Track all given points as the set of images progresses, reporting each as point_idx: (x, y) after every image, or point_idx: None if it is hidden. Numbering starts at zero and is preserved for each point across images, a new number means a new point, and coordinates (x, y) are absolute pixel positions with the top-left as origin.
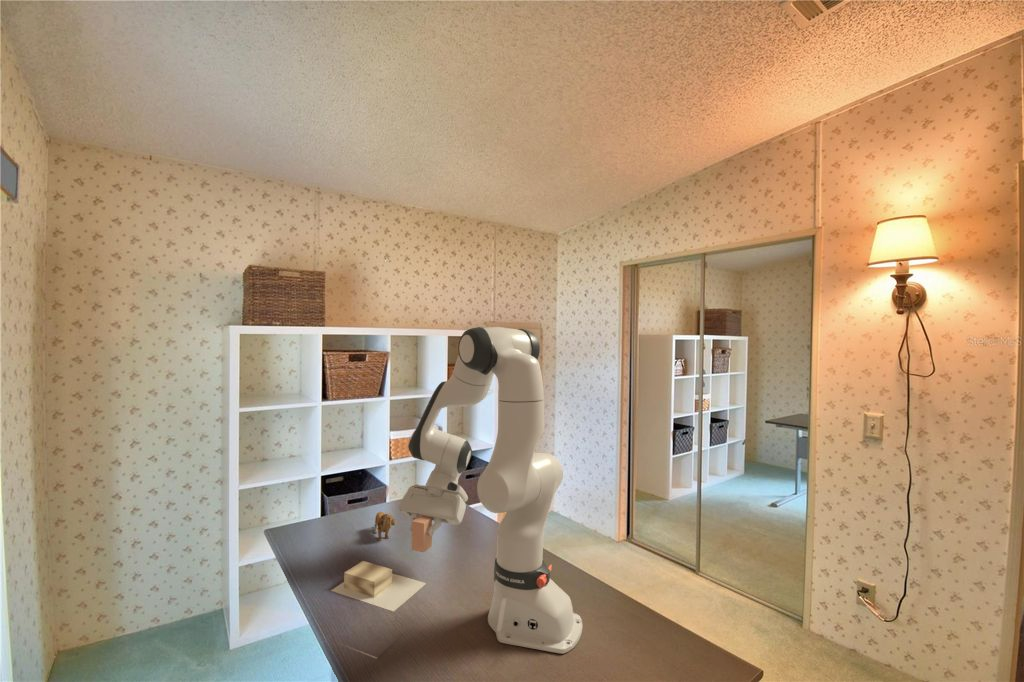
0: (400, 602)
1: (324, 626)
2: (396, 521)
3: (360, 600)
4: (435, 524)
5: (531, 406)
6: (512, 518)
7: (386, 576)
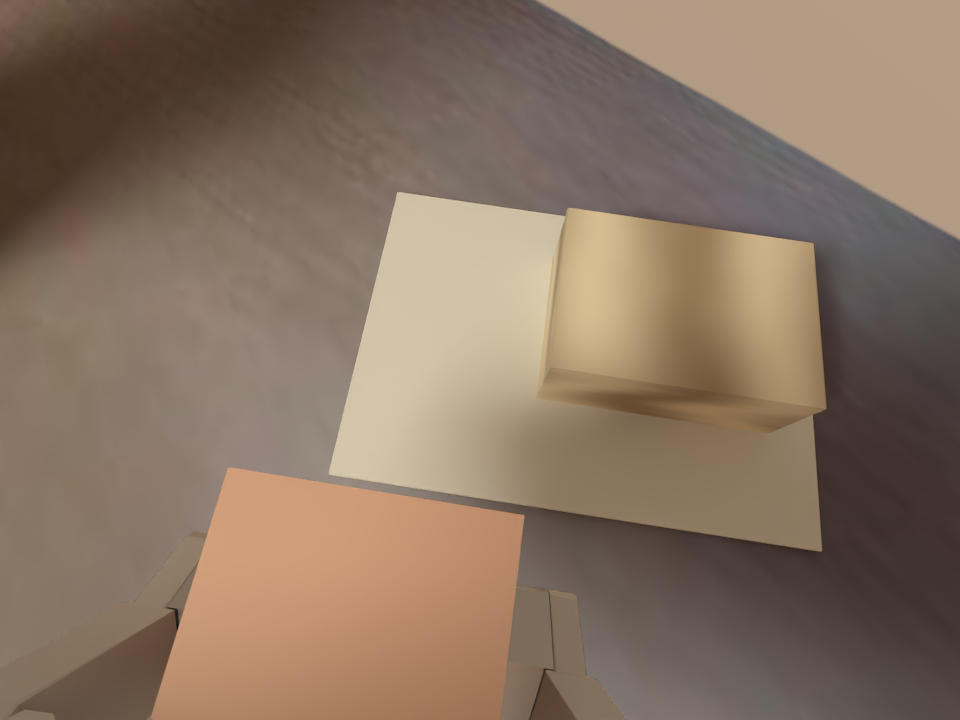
0: (397, 258)
1: (624, 63)
2: None
3: None
4: (37, 651)
5: None
6: None
7: (553, 319)
